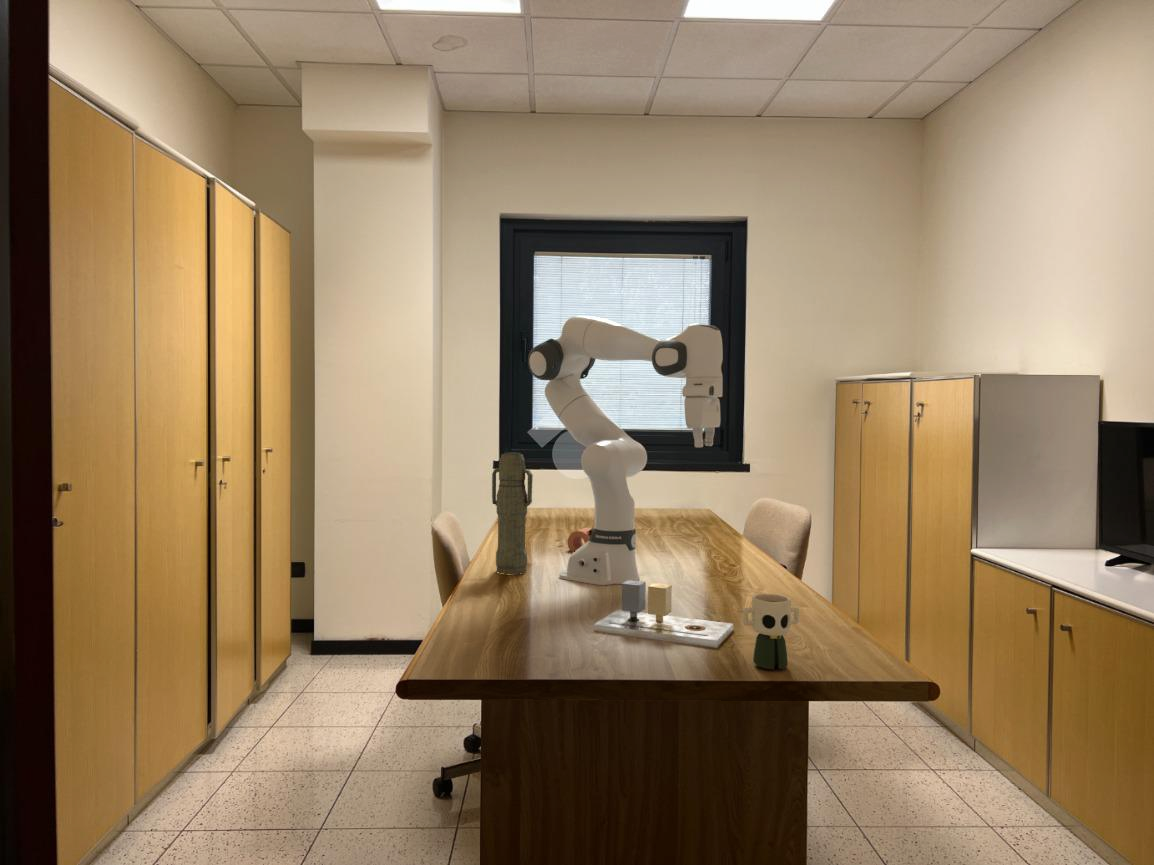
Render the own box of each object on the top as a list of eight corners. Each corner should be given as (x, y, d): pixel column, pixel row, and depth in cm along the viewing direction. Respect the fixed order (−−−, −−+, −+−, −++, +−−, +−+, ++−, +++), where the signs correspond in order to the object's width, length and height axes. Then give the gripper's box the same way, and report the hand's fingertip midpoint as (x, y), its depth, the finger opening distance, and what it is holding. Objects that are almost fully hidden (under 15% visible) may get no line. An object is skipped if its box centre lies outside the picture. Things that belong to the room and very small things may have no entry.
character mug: (748, 674, 144) (749, 603, 144) (735, 661, 151) (737, 593, 151) (805, 672, 146) (807, 601, 145) (790, 659, 153) (791, 592, 152)
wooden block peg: (647, 623, 171) (648, 586, 171) (653, 618, 175) (654, 582, 175) (665, 625, 170) (665, 588, 169) (671, 620, 173) (671, 584, 173)
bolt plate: (593, 631, 171) (594, 586, 171) (617, 616, 184) (618, 573, 183) (716, 647, 160) (717, 599, 160) (733, 630, 173) (733, 585, 172)
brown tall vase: (528, 577, 224) (529, 454, 223) (488, 576, 226) (488, 453, 225) (534, 571, 233) (535, 452, 232) (495, 569, 235) (496, 451, 234)
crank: (567, 554, 263) (567, 530, 263) (575, 550, 270) (576, 526, 270) (625, 558, 256) (625, 534, 255) (632, 554, 263) (632, 530, 263)
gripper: (702, 391, 204) (702, 444, 205) (680, 388, 186) (679, 447, 186) (726, 390, 202) (726, 445, 202) (706, 388, 183) (706, 448, 183)
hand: (703, 446), depth 194 cm, fingers open, 8 cm apart
